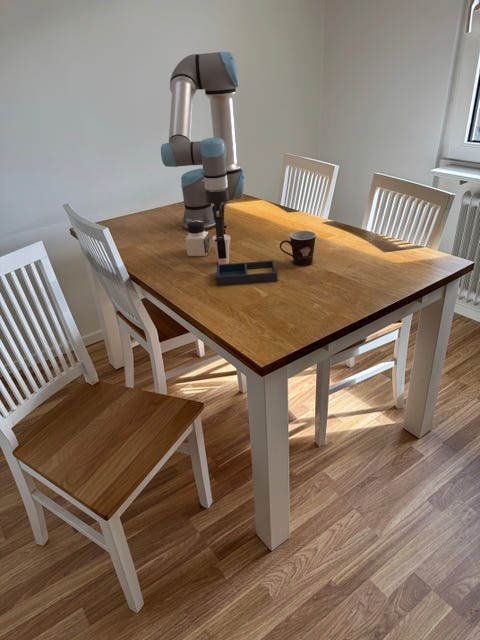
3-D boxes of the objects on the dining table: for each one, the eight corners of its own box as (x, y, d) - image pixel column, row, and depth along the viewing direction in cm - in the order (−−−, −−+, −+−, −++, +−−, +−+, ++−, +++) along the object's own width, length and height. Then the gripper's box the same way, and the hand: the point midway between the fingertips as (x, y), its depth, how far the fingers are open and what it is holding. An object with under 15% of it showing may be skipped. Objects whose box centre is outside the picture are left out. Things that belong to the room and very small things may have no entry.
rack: (217, 272, 156) (217, 264, 154) (274, 268, 156) (273, 260, 154) (217, 285, 147) (216, 277, 146) (276, 281, 147) (276, 272, 145)
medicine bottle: (205, 256, 169) (202, 225, 163) (187, 256, 170) (183, 225, 164) (210, 249, 175) (207, 218, 169) (192, 249, 176) (188, 219, 170)
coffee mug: (317, 258, 160) (318, 231, 155) (312, 268, 153) (313, 240, 148) (285, 256, 164) (284, 229, 159) (279, 266, 157) (278, 238, 152)
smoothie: (214, 260, 165) (210, 223, 158) (231, 258, 165) (228, 221, 158) (215, 267, 160) (211, 229, 153) (233, 265, 160) (229, 227, 153)
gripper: (206, 181, 159) (212, 241, 170) (203, 199, 140) (211, 266, 151) (227, 179, 159) (232, 240, 170) (227, 197, 139) (233, 264, 151)
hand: (222, 252), depth 161 cm, fingers open, 10 cm apart
